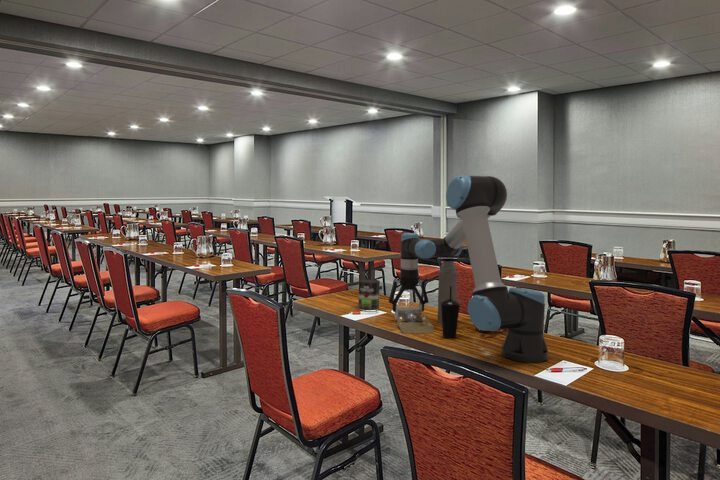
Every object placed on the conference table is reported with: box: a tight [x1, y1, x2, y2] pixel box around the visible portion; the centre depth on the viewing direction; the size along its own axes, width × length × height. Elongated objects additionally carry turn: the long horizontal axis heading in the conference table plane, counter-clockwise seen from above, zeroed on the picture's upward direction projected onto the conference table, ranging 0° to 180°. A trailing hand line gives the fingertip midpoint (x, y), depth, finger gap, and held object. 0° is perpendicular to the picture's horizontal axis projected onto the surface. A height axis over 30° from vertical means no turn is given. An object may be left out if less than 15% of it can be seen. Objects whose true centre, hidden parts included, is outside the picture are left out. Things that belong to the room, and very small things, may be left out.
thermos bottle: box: [437, 257, 458, 324], centre depth 216 cm, size 8×8×28 cm
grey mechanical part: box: [398, 306, 421, 323], centre depth 213 cm, size 12×10×5 cm
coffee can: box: [357, 278, 381, 310], centre depth 239 cm, size 10×10×14 cm
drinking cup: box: [440, 286, 461, 340], centre depth 191 cm, size 8×8×20 cm
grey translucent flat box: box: [396, 315, 435, 335], centre depth 203 cm, size 13×12×4 cm
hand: (408, 318), depth 216 cm, fingers closed on grey mechanical part, 10 cm apart
